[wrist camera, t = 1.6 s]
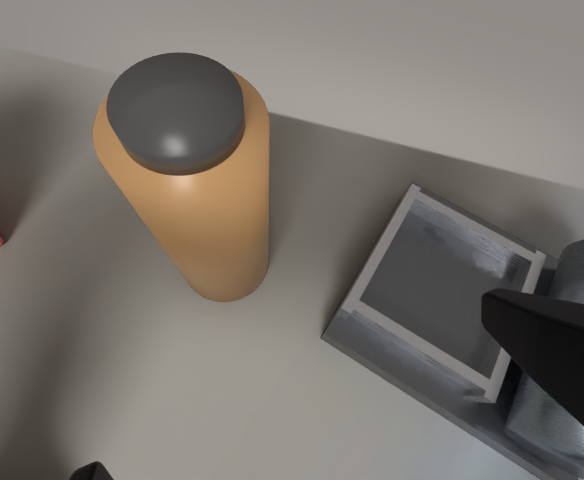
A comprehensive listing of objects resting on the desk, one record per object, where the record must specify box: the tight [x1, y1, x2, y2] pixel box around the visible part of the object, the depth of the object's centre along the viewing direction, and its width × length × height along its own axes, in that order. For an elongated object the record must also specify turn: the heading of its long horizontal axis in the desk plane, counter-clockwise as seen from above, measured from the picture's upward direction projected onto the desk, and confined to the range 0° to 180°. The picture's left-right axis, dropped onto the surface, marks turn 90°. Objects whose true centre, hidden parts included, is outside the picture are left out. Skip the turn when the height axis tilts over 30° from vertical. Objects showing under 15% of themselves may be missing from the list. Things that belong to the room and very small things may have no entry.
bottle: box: [93, 53, 270, 302], centre depth 17 cm, size 6×6×14 cm
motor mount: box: [321, 182, 584, 480], centre depth 20 cm, size 12×14×7 cm
